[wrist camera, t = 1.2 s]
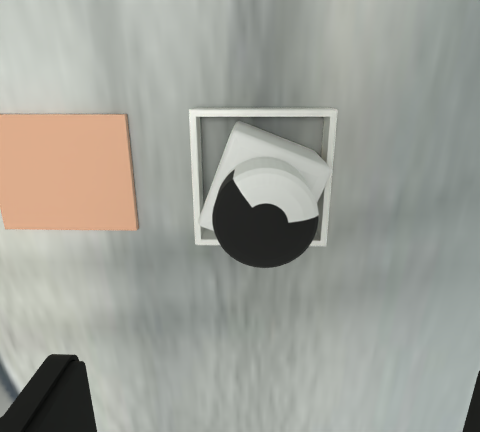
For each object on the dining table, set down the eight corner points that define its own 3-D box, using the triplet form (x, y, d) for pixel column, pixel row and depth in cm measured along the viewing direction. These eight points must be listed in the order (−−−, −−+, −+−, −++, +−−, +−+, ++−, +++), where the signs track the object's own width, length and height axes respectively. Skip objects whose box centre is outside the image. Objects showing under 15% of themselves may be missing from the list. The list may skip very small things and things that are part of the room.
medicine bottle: (282, 225, 33) (298, 298, 22) (207, 196, 32) (183, 257, 21) (316, 150, 31) (354, 189, 19) (236, 118, 30) (227, 139, 19)
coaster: (127, 114, 30) (124, 114, 29) (138, 227, 33) (136, 230, 33) (-17, 113, 30) (-22, 114, 30) (9, 226, 34) (5, 229, 33)
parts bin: (330, 107, 29) (337, 109, 27) (320, 234, 33) (326, 246, 31) (193, 107, 30) (188, 109, 27) (199, 233, 33) (195, 244, 31)
